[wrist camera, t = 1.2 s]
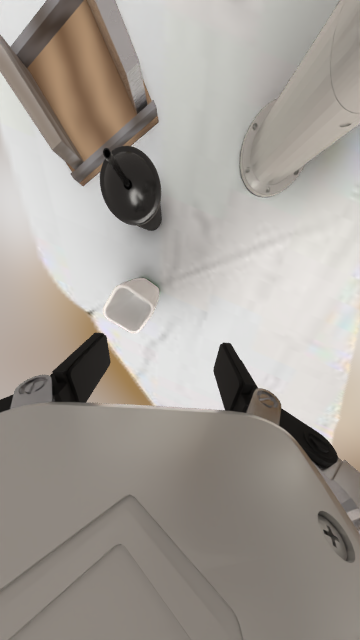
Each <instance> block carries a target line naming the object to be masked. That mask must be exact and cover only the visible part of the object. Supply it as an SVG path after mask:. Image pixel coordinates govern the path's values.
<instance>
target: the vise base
mask: <svg viewBox="0 0 360 640" xmlns="http://www.w3.org/2000/svg"><path fill="white" fill-rule="evenodd" d="M0 72H1V73H2V75H3V76H4V78H5V79H6V81H7V82H8V84H9V85H10V87H11V88H12V90H13V91H14V93H15V94H16V96H17V97H18V99H19V100H20V102H21V104H22V105H23V107H24V108H25V110H26V111H27V113H28V114H29V116H30V117H31V119H32V120H33V122H34V123H35V125H36V126H37V128H38V129H39V131H40V132H41V134H42V135H43V137H44V138H45V140H46V141H47V143H48V144H49V146H50V147H51V149H52V150H53V151H54V152H55V153H56V154H57V155H59V156H60V157H61V158H62V159H63V160H64V161H65V162H66V163H67V165H68V166H69V168H70V169H71V171H72V173H71V175H72V177H73V178H74V179H75V180H76V181H77V182H79V183H80V184H81V185H82V186H84V185H85V184H86V183H87V182H89V181H90V180H91V179H92V178H93V177H94V176H96V175H97V174H98V173H99V172H100V171H101V167H102V164H103V161H104V159H105V157H104V155H103V149H104V148H108V149H109V150H110V151H112V150H113V149H115V148H117V147H120V146H131V145H132V144H133V143H135V142H136V141H137V140H138V139H139V138H140V137H142V136H143V135H144V134H145V133H146V132H148V131H149V130H150V129H151V128H152V127H153V126H155V125H156V124H157V123H158V116H157V109H156V105H155V103H154V100H153V101H151V98H150V96H149V93H148V91H147V88H146V86H145V83H144V81H143V84H144V89H145V94H146V99H147V104H148V105H147V106H146V107H145V108H144V109H143V110H142V111H140V112H139V113H138V114H137V113H136V111H135V109H134V107H133V104H132V102H131V100H130V97H129V95H128V93H127V91H126V88H125V86H124V84H123V81H122V79H121V77H120V75H119V72H118V70H117V68H116V66H115V63H114V61H113V59H112V56H111V54H110V52H109V50H108V47H107V45H106V43H105V41H104V38H103V36H102V34H101V31H100V29H99V27H98V25H97V22H96V20H95V18H94V15H93V13H92V11H91V9H90V6H89V4H88V2H87V0H47V1H46V2H45V3H44V5H43V6H42V7H41V9H40V10H39V11H38V12H37V14H36V15H35V16H34V17H33V19H32V20H31V21H30V23H29V24H28V25H27V26H26V28H25V29H24V30H23V32H22V33H21V34H20V35H19V37H18V38H17V39H16V41H15V42H14V43H13V44H12V46H11V47H10V46H9V45H8V44H7V43H6V41H5V40H4V39H3V37H2V36H1V35H0ZM142 79H143V78H142Z"/></svg>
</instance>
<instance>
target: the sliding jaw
mask: <svg viewBox="0 0 360 640" xmlns="http://www.w3.org/2000/svg"><path fill="white" fill-rule="evenodd" d="M87 2H88V4H89V6H90V9H91V11H92V13H93V15H94V18H95V20H96V22H97V25H98V27H99V29H100V31H101V34H102V36H103V38H104V41H105V43H106V45H107V47H108V50H109V52H110V54H111V56H112V59H113V61H114V63H115V66H116V68H117V70H118V72H119V75H120V77H121V79H122V81H123V84H124V86H125V88H126V91H127V93H128V95H129V97H130V100H131V102H132V104H133V107H134V109H135V111H136V113H137V114H138V113H139V112H140V111H142V110H143V109H144V108H145V107H146V106H147V105H148V104H147V99H146V94H145V89H144V84H143V79H142V74H141V68H140V63H139V60H138V57H137V55H136V52H135V50H134V47H133V45H132V42H131V40H130V37H129V34H128V32H127V29H126V27H125V24H124V22H123V19H122V17H121V14H120V11H119V9H118V6H117V4H116V1H115V0H87Z"/></svg>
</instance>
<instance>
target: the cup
mask: <svg viewBox="0 0 360 640" xmlns="http://www.w3.org/2000/svg"><path fill="white" fill-rule="evenodd" d="M158 300H159V288H158V287H157V286H155V285H154V284H153V283H151V282H150V281H149V280H147V279H145V278H136V279H132V280H130V281H127V282H124V283H122V284H120V285H118V286H116V287H115V288H114V289H113V291H112V293H111V295H110V296H109V298H108V300H107V302H106V303H105V305H104V307H103V315H104V316H105V318H106V319H108V320H109V321H111V322H112V323H114V324H116V325H118V326H119V327H121V328H123V329H124V330H126V331H128V332H130V333H138V332H139V331H141V330H142V328H143V327H144V326H145V324H146V323H147V321H148V320H149V319H150V317H151V316H152V315H153V312H154V310H155V308H156V306H157V303H158Z"/></svg>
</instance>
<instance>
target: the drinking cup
mask: <svg viewBox="0 0 360 640" xmlns="http://www.w3.org/2000/svg"><path fill="white" fill-rule="evenodd" d="M103 155H104V157H105V159H104V161H103V164H102V167H101V172H100V186H101V191H102V195H103V198H104V200H105V203H106V205H107V206H108V208H109V209H110V211H111V212H112V213H113V214H114V215H115V216H116V217H117V218H118V219H119V220H121V221H122V222H124V223H127V224H129V225H137V226H139V227H142V228H144V229H147V230H150V231H153V230H156V229H157V228H158V227H159V226H160V224H161V206H160V201H161V184H160V179H159V176H158V173H157V170H156V168H155V166H154V165H153V163H152V161H151V160H150V159H149V158H148V156H147V155H146V154H144V153H143V152H142V151H140V150H139V149H137V148H135V147H131V146H120V147H117V148H115V149H113V150H112V151H110V150H109V149H108V148H104V149H103Z"/></svg>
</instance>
